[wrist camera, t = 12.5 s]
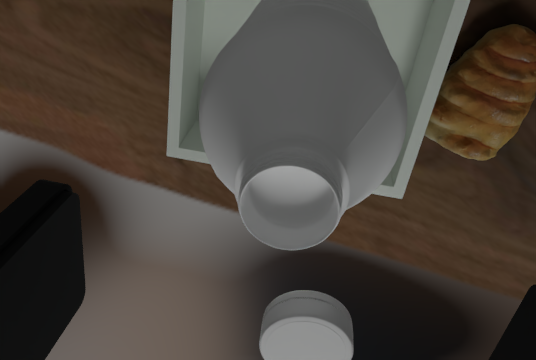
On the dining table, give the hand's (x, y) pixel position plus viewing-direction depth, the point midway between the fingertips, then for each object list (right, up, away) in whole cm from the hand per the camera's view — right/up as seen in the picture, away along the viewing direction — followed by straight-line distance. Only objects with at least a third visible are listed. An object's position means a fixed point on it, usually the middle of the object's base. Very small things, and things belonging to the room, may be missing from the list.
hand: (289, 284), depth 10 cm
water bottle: (+3, +13, +23) cm, 26 cm away
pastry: (+15, +9, +25) cm, 30 cm away
